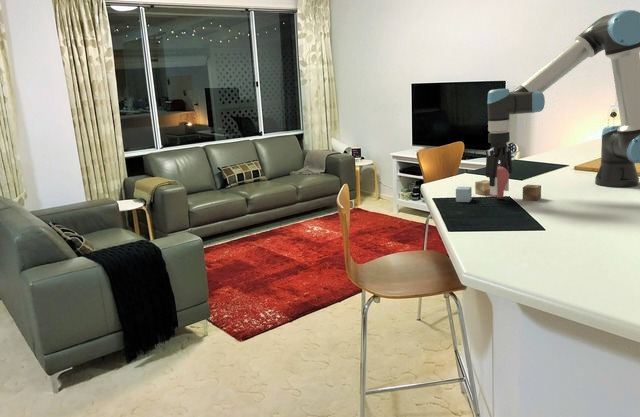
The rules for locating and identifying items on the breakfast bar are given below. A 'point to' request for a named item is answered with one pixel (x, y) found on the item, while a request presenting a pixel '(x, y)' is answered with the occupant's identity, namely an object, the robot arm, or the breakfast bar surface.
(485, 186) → the oak block
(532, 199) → the walnut block
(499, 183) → the light bulb
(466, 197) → the slate-blue painted block
